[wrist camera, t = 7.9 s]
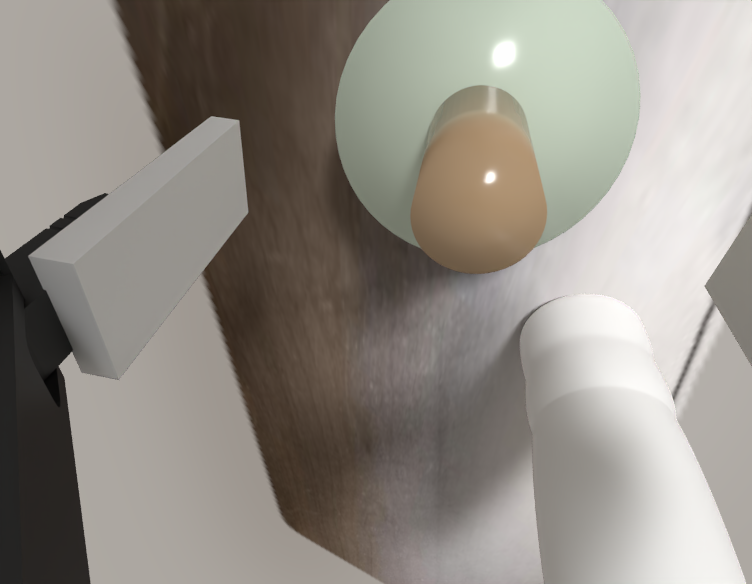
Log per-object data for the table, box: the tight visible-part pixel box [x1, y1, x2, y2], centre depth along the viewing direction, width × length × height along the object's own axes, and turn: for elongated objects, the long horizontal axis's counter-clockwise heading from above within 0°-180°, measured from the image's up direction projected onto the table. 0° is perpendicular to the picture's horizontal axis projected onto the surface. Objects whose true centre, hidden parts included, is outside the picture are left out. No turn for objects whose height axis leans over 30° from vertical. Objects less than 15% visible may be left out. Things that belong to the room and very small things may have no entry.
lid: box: [335, 0, 640, 274], centre depth 16 cm, size 11×11×8 cm
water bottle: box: [520, 294, 746, 584], centre depth 20 cm, size 7×7×25 cm
